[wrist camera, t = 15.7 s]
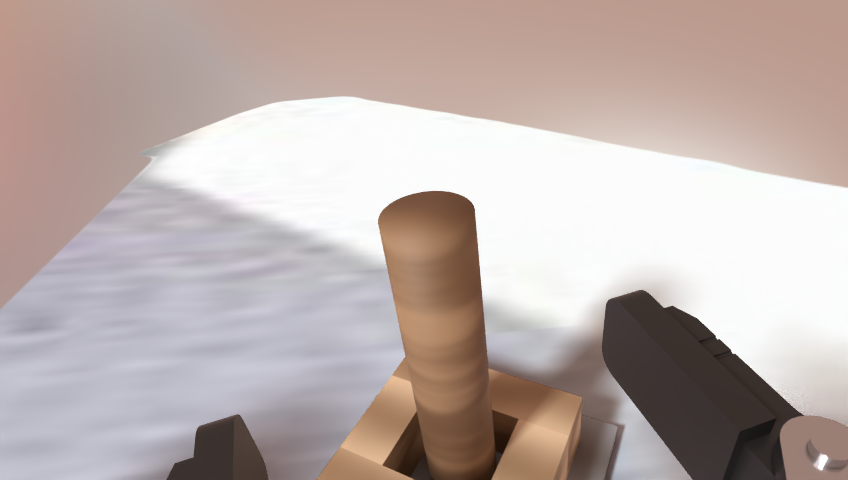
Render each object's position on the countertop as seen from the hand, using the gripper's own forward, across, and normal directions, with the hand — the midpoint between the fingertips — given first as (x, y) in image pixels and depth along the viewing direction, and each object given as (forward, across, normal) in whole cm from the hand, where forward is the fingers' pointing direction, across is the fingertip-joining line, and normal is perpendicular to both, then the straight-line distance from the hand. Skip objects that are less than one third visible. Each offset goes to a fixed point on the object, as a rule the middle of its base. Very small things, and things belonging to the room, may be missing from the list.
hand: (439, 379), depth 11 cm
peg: (+10, +2, -23) cm, 25 cm away
